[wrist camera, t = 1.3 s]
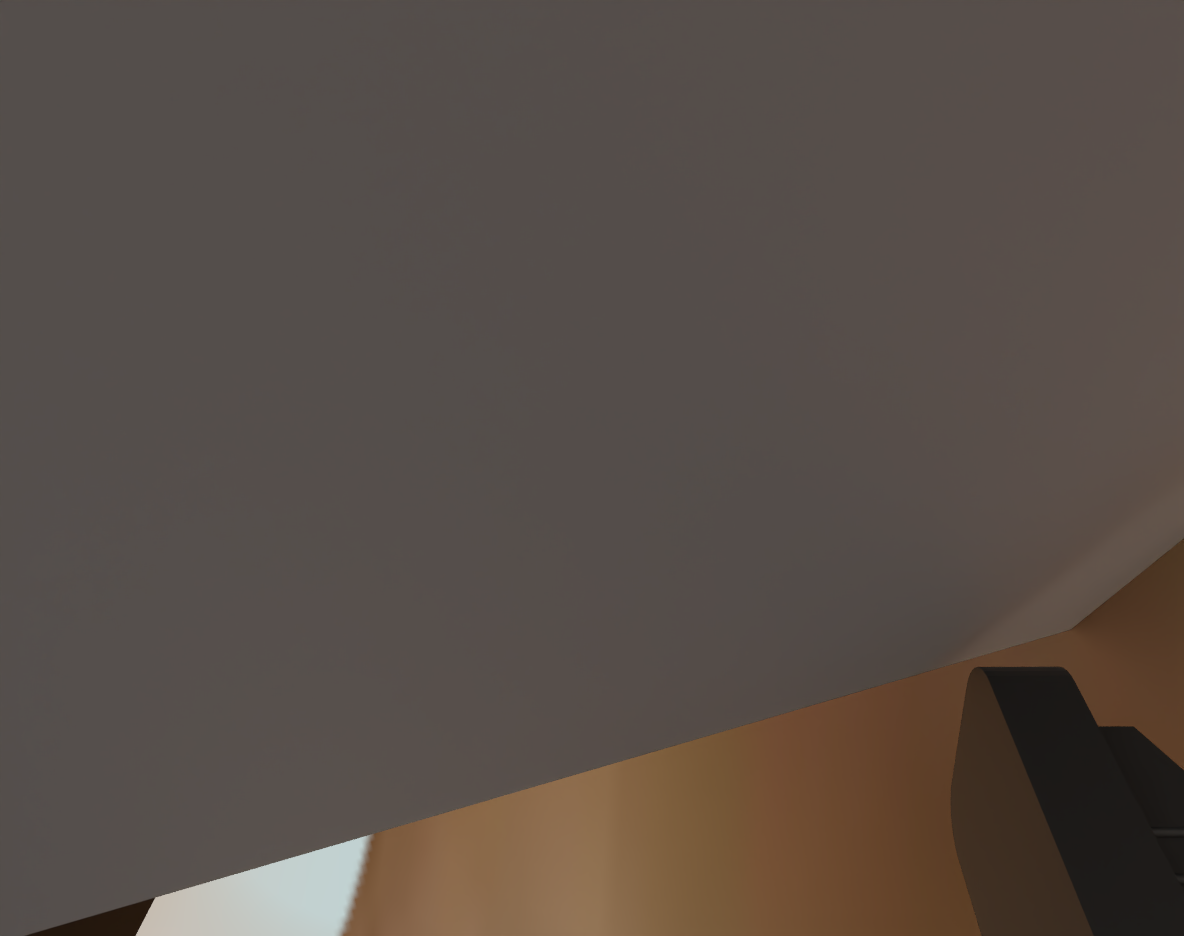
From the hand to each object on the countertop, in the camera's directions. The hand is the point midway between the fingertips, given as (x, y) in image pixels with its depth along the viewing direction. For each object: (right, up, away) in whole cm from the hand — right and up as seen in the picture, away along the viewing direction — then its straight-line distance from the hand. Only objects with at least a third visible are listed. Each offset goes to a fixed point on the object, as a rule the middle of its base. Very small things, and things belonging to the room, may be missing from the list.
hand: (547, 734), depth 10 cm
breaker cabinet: (+14, +9, +17) cm, 24 cm away
